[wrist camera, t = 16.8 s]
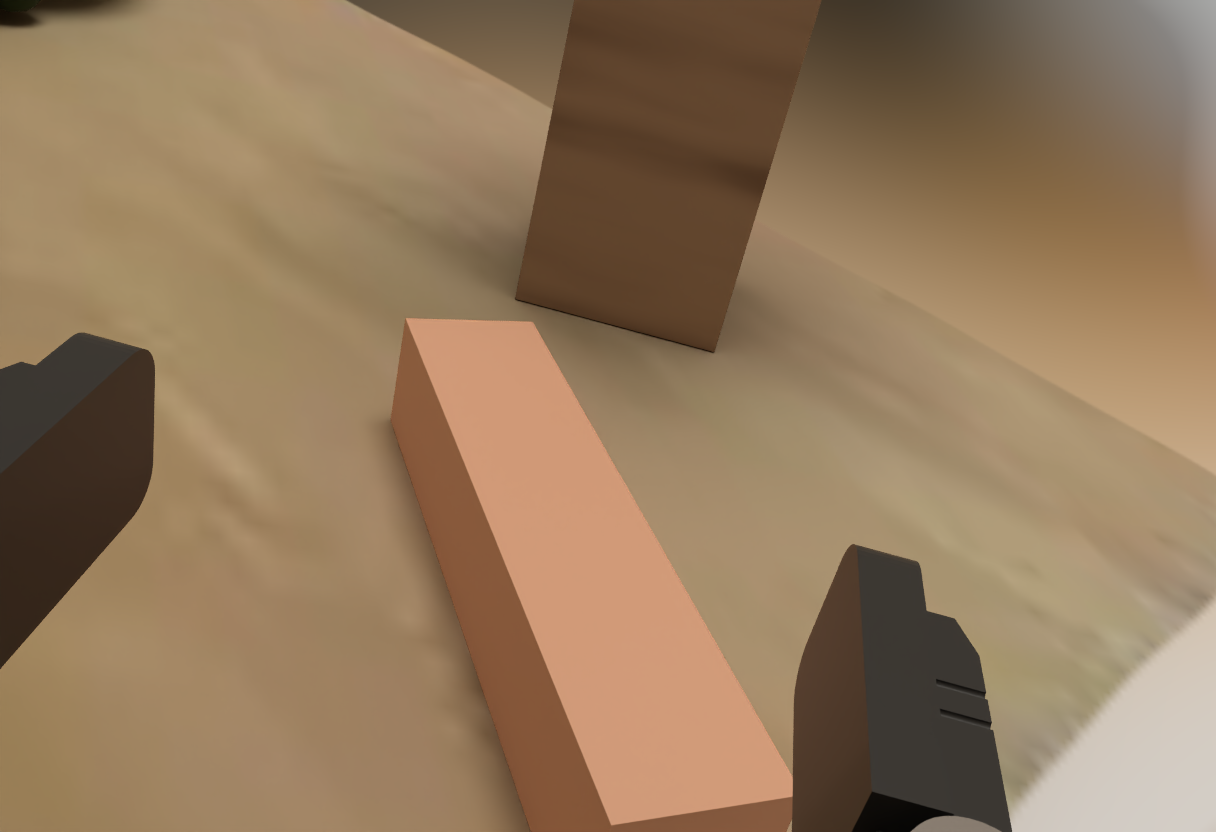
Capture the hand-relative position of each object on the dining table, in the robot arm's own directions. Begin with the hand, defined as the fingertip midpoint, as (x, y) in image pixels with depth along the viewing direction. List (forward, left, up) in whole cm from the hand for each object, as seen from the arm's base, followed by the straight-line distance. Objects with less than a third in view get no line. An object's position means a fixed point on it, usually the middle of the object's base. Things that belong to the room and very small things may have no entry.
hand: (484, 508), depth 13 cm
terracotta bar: (+9, +5, -10) cm, 14 cm away
